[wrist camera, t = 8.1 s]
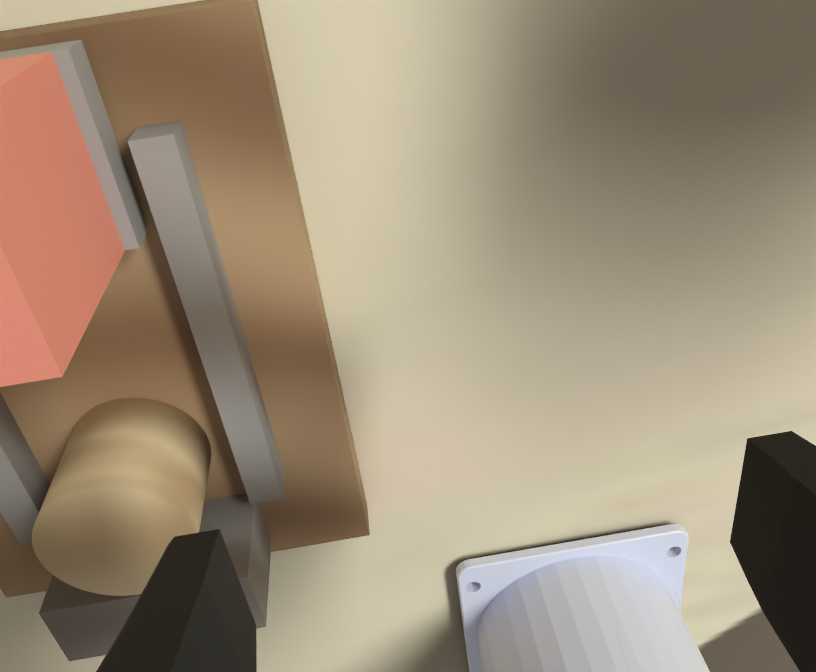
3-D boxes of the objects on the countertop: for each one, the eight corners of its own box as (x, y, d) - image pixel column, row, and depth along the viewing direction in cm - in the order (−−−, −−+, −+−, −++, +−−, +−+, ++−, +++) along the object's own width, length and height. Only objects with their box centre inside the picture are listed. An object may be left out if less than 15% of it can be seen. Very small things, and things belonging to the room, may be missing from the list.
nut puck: (226, 487, 21) (214, 581, 18) (98, 509, 21) (67, 607, 18) (189, 387, 19) (169, 476, 16) (48, 410, 19) (4, 503, 16)
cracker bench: (367, 506, 23) (377, 619, 20) (20, 565, 23) (-34, 691, 19) (255, -8, 15) (238, 28, 12) (-283, 74, 15) (-469, 137, 11)
